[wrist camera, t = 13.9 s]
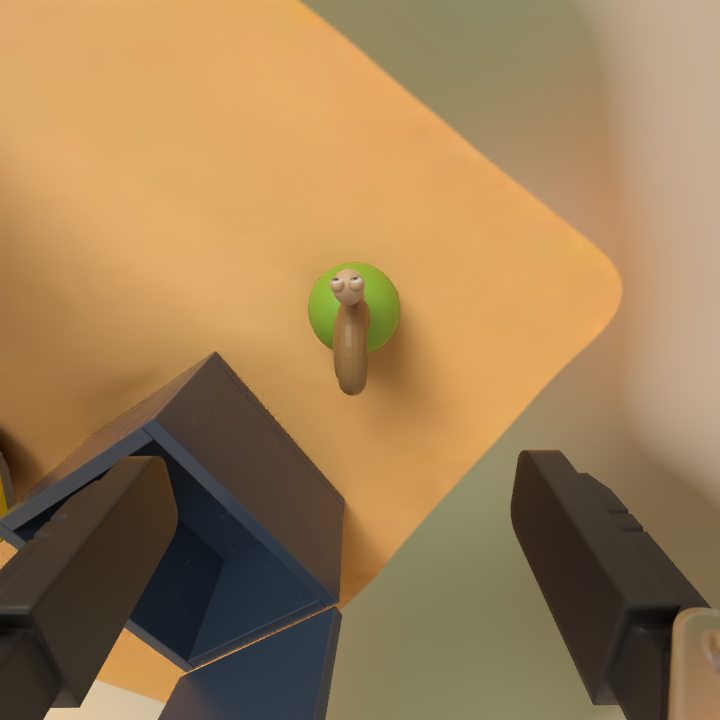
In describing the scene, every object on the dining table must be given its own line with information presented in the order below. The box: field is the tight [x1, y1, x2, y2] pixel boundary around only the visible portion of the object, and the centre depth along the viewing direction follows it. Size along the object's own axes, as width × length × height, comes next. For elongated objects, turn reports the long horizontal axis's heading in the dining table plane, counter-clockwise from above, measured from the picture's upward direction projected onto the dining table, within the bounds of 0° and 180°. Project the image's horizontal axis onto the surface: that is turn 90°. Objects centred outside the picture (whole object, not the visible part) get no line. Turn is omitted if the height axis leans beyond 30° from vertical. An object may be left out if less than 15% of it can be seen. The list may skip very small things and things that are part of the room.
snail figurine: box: [308, 263, 400, 396], centre depth 20 cm, size 5×6×12 cm
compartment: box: [0, 352, 344, 672], centre depth 27 cm, size 16×13×9 cm
